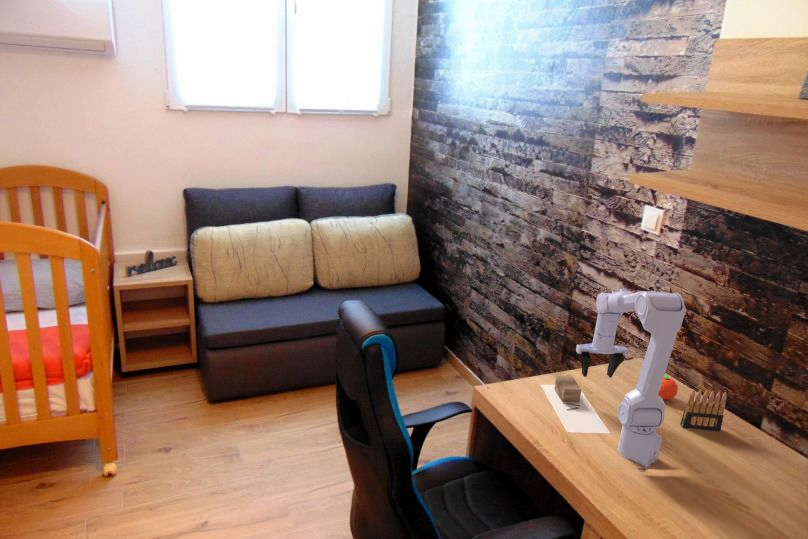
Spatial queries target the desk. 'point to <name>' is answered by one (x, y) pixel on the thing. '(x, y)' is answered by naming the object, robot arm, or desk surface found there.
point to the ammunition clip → (704, 412)
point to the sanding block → (567, 389)
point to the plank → (575, 413)
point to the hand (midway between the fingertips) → (596, 375)
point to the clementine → (668, 388)
